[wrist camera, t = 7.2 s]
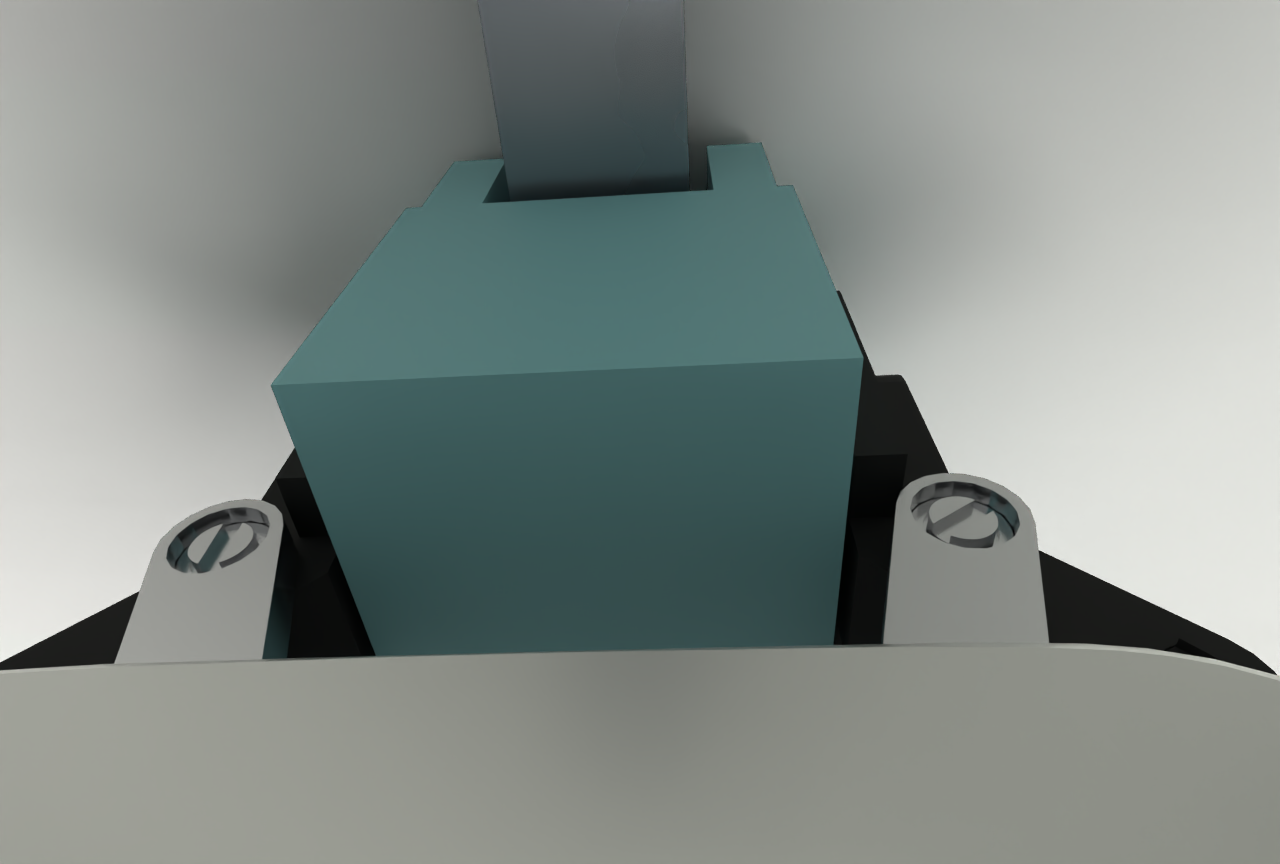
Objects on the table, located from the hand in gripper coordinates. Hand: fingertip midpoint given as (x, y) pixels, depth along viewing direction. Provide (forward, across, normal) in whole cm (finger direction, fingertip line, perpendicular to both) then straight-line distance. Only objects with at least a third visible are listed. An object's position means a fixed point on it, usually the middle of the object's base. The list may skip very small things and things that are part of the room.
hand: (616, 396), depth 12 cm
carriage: (+2, 0, 0) cm, 2 cm away
